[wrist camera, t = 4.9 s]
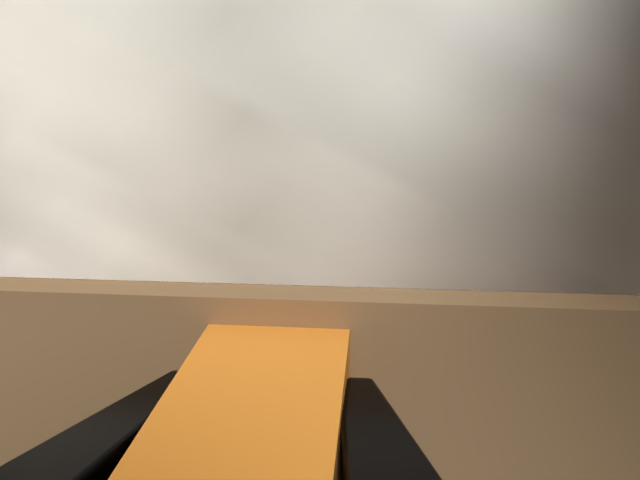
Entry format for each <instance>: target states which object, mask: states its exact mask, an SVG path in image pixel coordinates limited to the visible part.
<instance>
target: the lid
mask: <svg viewBox="0 0 640 480" xmlns="http://www.w3.org/2000/svg"><path fill="white" fill-rule="evenodd" d="M173 370H178V372H177V374H176V375H175V377H174V378H173V380H172V381H171V383H170V384H169V386H168V387H167V389H166V391H165V392H164V394H163V395H162V397H161V398H160V400H159V401H158V403H157V404H156V406H155V408H154V409H153V411H152V412H151V414H150V415H149V417H148V418H147V420H146V421H145V423H144V424H143V426H142V428H141V429H140V431H139V432H138V434H137V435H136V437H135V438H134V440H133V441H132V443H131V445H130V446H129V448H128V449H127V451H126V452H125V454H124V455H123V457H122V458H121V460H120V461H119V463H118V465H117V466H116V468H115V469H114V471H113V472H112V474H111V475H110V477H109V478H108V480H341V418H342V410H343V403H344V396H345V389H346V383H347V379H348V378H350V377H356V378H371V379H373V380H374V382H375V383H376V385H377V386H378V388H379V389H380V390H381V392H382V393H383V395H384V396H385V398H386V399H387V401H388V402H389V403H390V405H391V406H392V408H393V409H394V411H395V412H396V414H397V415H398V416H399V418H400V419H401V421H402V422H403V424H404V425H405V427H406V428H407V429H408V431H409V432H410V434H411V435H412V437H413V438H414V440H415V441H416V442H417V444H418V445H419V447H420V448H421V450H422V451H423V453H424V454H425V455H426V457H427V458H428V460H429V461H430V463H431V464H432V466H433V467H434V468H435V470H436V471H437V473H438V474H439V476H440V477H441V479H442V480H640V295H616V294H581V293H546V292H511V291H476V290H440V289H405V288H370V287H335V286H300V285H265V284H230V283H195V282H160V281H125V280H90V279H55V278H20V277H0V466H1V465H3V464H5V463H7V462H9V461H10V460H12V459H14V458H16V457H18V456H19V455H21V454H23V453H25V452H27V451H28V450H30V449H32V448H34V447H36V446H37V445H39V444H41V443H43V442H45V441H46V440H48V439H50V438H52V437H54V436H55V435H57V434H59V433H61V432H63V431H64V430H66V429H68V428H70V427H72V426H73V425H75V424H77V423H79V422H81V421H82V420H84V419H86V418H88V417H90V416H91V415H93V414H95V413H97V412H98V411H100V410H102V409H104V408H106V407H107V406H109V405H111V404H113V403H115V402H116V401H118V400H120V399H122V398H124V397H125V396H127V395H129V394H131V393H133V392H134V391H136V390H138V389H140V388H142V387H143V386H145V385H147V384H149V383H151V382H152V381H154V380H156V379H158V378H160V377H161V376H163V375H165V374H167V373H169V372H170V371H173Z"/></svg>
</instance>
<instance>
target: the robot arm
mask: <svg viewBox="0 0 640 480" xmlns="http://www.w3.org/2000/svg"><path fill="white" fill-rule="evenodd" d="M177 372H178V370H173V371H170V372H169V373H167V374H165V375H163V376H161V377H160V378H158V379H156V380H154V381H152V382H151V383H149V384H147V385H145V386H143V387H142V388H140V389H138V390H136V391H134V392H133V393H131V394H129V395H127V396H125V397H124V398H122V399H120V400H118V401H116V402H115V403H113V404H111V405H109V406H107V407H106V408H104V409H102V410H100V411H98V412H97V413H95V414H93V415H91V416H90V417H88V418H86V419H84V420H82V421H81V422H79V423H77V424H75V425H73V426H72V427H70V428H68V429H66V430H64V431H63V432H61V433H59V434H57V435H55V436H54V437H52V438H50V439H48V440H46V441H45V442H43V443H41V444H39V445H37V446H36V447H34V448H32V449H30V450H28V451H27V452H25V453H23V454H21V455H19V456H18V457H16V458H14V459H12V460H10V461H9V462H7V463H5V464H3V465H1V466H0V480H108V478H109V477H110V475H111V474H112V472H113V471H114V469H115V468H116V466H117V465H118V463H119V461H120V460H121V458H122V457H123V455H124V454H125V452H126V451H127V449H128V448H129V446H130V445H131V443H132V441H133V440H134V438H135V437H136V435H137V434H138V432H139V431H140V429H141V428H142V426H143V424H144V423H145V421H146V420H147V418H148V417H149V415H150V414H151V412H152V411H153V409H154V408H155V406H156V404H157V403H158V401H159V400H160V398H161V397H162V395H163V394H164V392H165V391H166V389H167V387H168V386H169V384H170V383H171V381H172V380H173V378H174V377H175V375H176V374H177ZM341 480H442V479H441V477H440V476H439V474H438V473H437V471H436V470H435V468H434V467H433V466H432V464H431V463H430V461H429V460H428V458H427V457H426V455H425V454H424V453H423V451H422V450H421V448H420V447H419V445H418V444H417V442H416V441H415V440H414V438H413V437H412V435H411V434H410V432H409V431H408V429H407V428H406V427H405V425H404V424H403V422H402V421H401V419H400V418H399V416H398V415H397V414H396V412H395V411H394V409H393V408H392V406H391V405H390V403H389V402H388V401H387V399H386V398H385V396H384V395H383V393H382V392H381V390H380V389H379V388H378V386H377V385H376V383H375V382H374V380H373V379H371V378H356V377H350V378H348V379H347V383H346V389H345V396H344V403H343V410H342V418H341Z"/></svg>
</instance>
